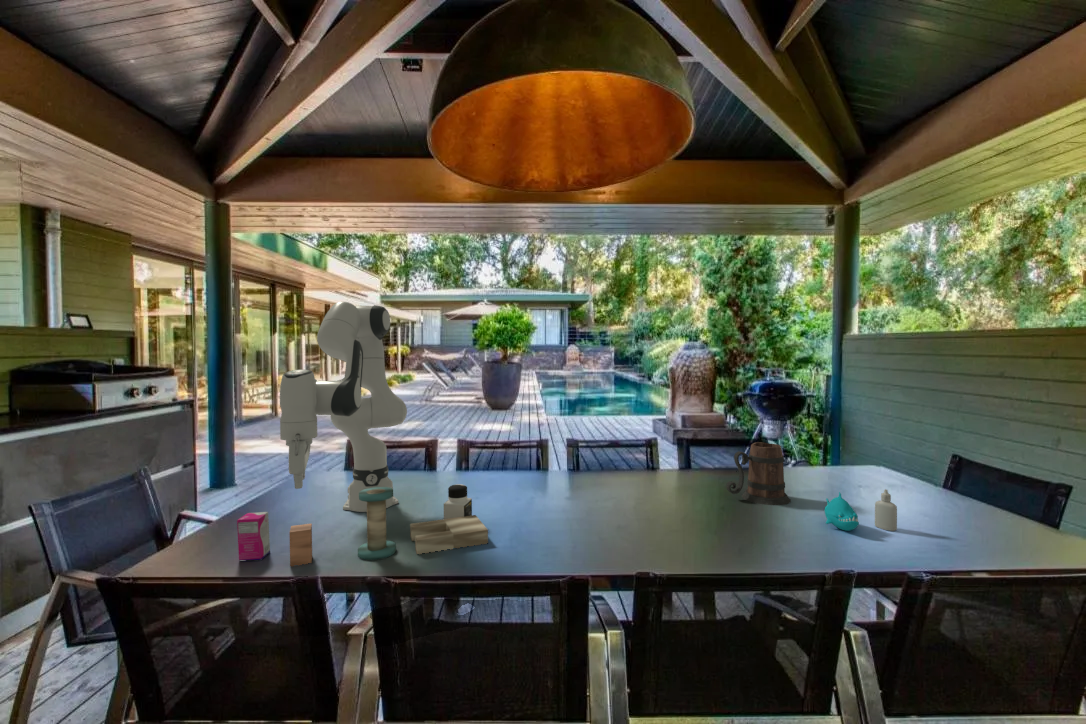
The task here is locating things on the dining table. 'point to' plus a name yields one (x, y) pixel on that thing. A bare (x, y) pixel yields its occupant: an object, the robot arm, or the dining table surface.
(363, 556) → the bobbin
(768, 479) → the tankard
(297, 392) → the robot arm
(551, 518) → the dining table surface
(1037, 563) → the dining table surface
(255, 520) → the supplement box
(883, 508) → the eye dropper bottle
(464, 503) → the medicine bottle
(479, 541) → the notched board
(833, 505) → the toy shark
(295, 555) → the wooden block
